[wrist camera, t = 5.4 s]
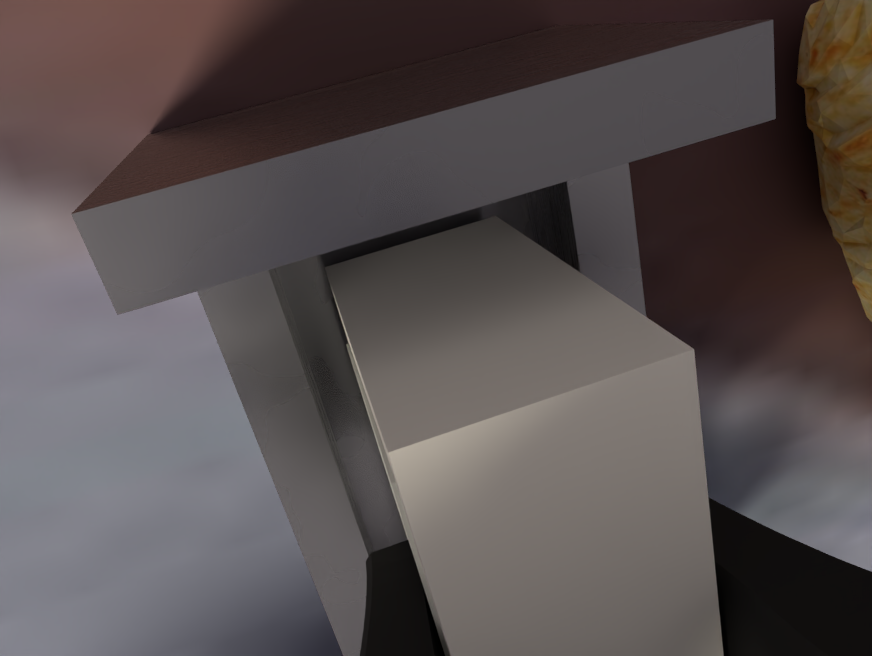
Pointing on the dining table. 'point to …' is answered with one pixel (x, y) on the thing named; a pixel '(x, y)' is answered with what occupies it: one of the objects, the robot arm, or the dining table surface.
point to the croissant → (842, 125)
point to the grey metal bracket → (401, 224)
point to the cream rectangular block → (534, 448)
